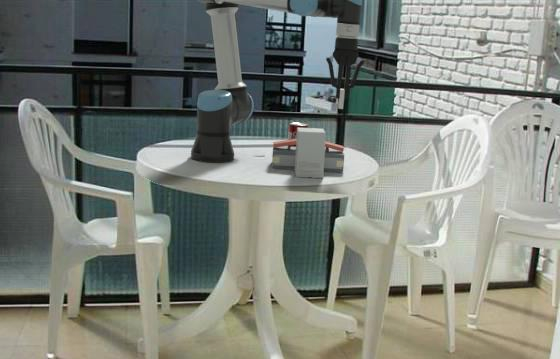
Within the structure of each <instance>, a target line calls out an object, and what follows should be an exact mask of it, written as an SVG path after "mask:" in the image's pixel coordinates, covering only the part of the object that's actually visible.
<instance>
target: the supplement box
mask: <svg viewBox="0 0 560 359" xmlns="http://www.w3.org/2000/svg"><path fill="white" fill-rule="evenodd" d="M326 137H327V132H326V131H325V129H324V128H316V127H314V128H313V127H309V128H298V127H297V139H296V157H295V170H294V173H295V174H294V175H295V177H296V178H308V177H312V178H313V179H324V172H325V171H324V157H325V149H326V147H325V142H327V140H326V139H327V138H326Z"/></svg>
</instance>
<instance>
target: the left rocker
mask: <svg viewBox="0 0 560 359" xmlns="http://www.w3.org/2000/svg"><path fill="white" fill-rule="evenodd" d="M289 145H296V139H290V140H288V139H285V140H278V141H273V143H272V147H273V146H274V148H276V147H283V146H289Z"/></svg>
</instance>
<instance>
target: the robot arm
mask: <svg viewBox="0 0 560 359" xmlns="http://www.w3.org/2000/svg"><path fill="white" fill-rule="evenodd" d="M197 1H198V2H199V3H201V4H204V5H205V6H204V7H205V12H206V14H208V15H209V16H210V20H211V21H210V22H211V28H212V29H211V31H212V38H213V46H214V47H213V48H214V56H215V57H214V58H215V64H216V75H217V82H218V83H217V85H216V87H215V88H214V89H212V90H211V89H209V90H204V91H202V92H200V93H199V94H198V97H197V102H196V107H197V108H196V110H197V111H196V136H195V140H194V142H193V144H192V148H191V150H190V159H192V160H195V161H199V162H203V163H228V162H233V161H234V160H235V150H234V146H233V144H232V140H231V126H233V125H240V124H243V123H244V122H246V121H247V120H249V118H250V117H251V116H252V115H253V112H254V108H255V105H254V104H255V103H254V100H253V98H252V96H251V95H250V94H249V93H248V86H247V84H245V83H244V82H243V79H242V68H241V60H240V50H239V49H240V48H239V42H238V33H237V32H238V31H237V24H236V23H237V21H236V13H237V11H238V10H239V5H243V6H248V7H254V8H259V9H260V8H261V9H266V10H270V11H277V12H283V13H286V14H287V13H288V14H294V15H298V16H300V17H312V18H331V19H336V29H335V30H336V31H335V35H336V36H337V37H335V39H334V40H335V41H334V51H333V52H332V55H329V56H328V57H327V56H326V58H325V61H326V62H327V64H328V69H329V77H330V83H331V87H333V88H336V91H335V98H336V99H338V105H337V106H338V107H337V109H339V110H344V103H345V100H347V99H348V95H349V90H350V89H353V88H354V87H355V85H356V82H357V79H358V76H359V74H360V71H361V68H362V66H363V65H364V64H365V61H364V60H363V59H362V58H360V57H359V53H358V45H359V40H358V38H359V36H360V25H361V14H362V7H363V3H362V2H363V0H197ZM334 61H335V62H336V64H337V65H338V66H337V67H338V68H337V79H335V78H336V77H335V72H334V65H333V62H334ZM355 62H356V67H355V68H354V72H353V74H352V77H351V81H350V75H351V74H350V73H351V67H352V65H353V64H354V63H355ZM344 66H345V76H344V86H343V88H341V87H342V78H343V77H342V75H343V68H344Z"/></svg>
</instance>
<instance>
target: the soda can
mask: <svg viewBox="0 0 560 359" xmlns="http://www.w3.org/2000/svg"><path fill="white" fill-rule="evenodd" d="M297 127H298V128H310V127H309V124H308V123H303V122H290V123H289V124H288V132H287V133H288V134H287V140H290V139H297ZM290 146H291V147H296V145H290Z"/></svg>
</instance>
